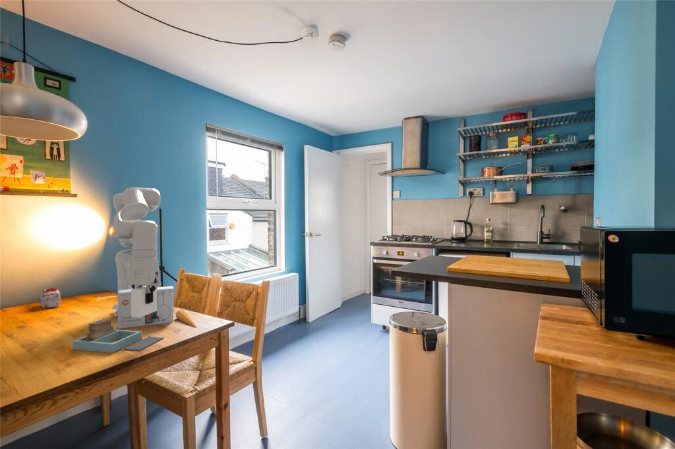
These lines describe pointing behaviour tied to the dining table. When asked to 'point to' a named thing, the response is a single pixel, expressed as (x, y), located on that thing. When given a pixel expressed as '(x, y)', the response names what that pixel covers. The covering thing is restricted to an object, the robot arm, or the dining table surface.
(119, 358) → the dining table surface
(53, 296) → the food item
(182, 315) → the carrot
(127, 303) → the skincare box
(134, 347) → the mat
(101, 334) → the offcut middle
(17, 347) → the dining table surface
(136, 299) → the white upright slab
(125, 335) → the tray
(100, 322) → the offcut top
